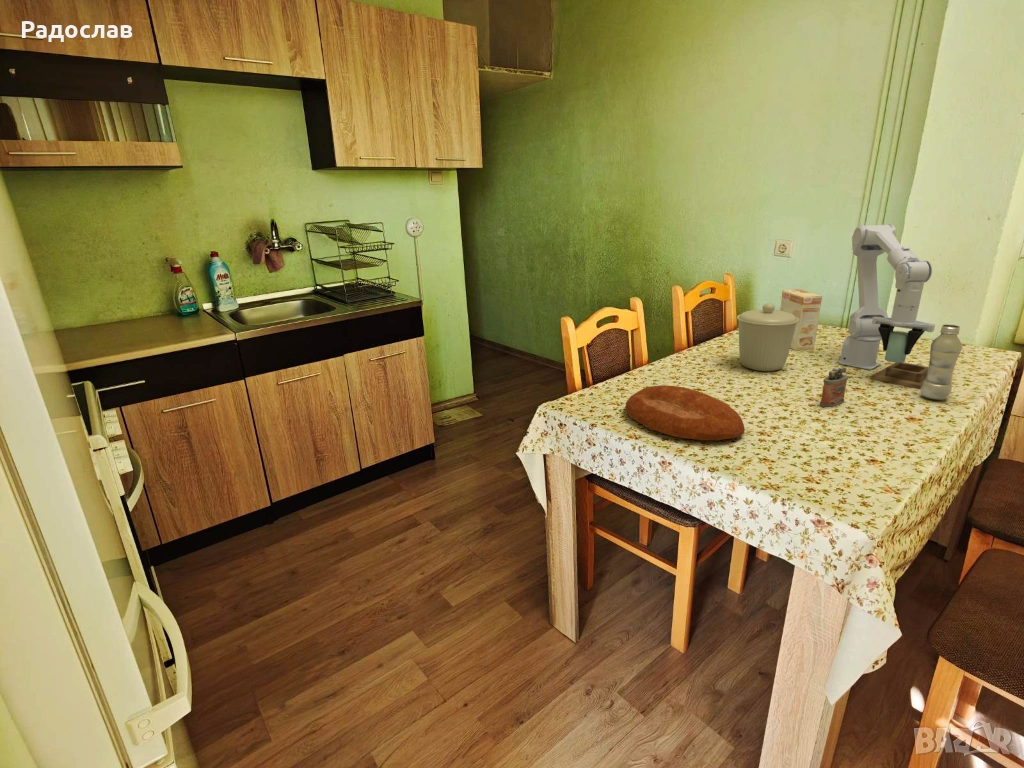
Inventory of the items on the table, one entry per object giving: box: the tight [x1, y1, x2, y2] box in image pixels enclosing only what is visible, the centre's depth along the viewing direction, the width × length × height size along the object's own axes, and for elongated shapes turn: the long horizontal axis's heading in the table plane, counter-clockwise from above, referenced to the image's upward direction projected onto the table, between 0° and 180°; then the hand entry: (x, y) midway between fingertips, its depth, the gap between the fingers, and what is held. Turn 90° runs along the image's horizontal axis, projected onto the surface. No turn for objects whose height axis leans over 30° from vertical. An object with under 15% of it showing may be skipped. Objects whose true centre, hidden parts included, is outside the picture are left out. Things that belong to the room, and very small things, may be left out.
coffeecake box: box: [779, 288, 823, 351], centre depth 191 cm, size 15×7×20 cm, turn 179°
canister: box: [736, 302, 799, 372], centre depth 169 cm, size 18×18×21 cm
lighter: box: [819, 366, 849, 408], centre depth 139 cm, size 8×3×10 cm, turn 117°
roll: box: [884, 330, 908, 363], centre depth 150 cm, size 5×5×8 cm
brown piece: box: [870, 362, 929, 390], centre depth 155 cm, size 14×14×4 cm
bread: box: [625, 384, 746, 441], centre depth 133 cm, size 23×32×9 cm
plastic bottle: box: [920, 324, 963, 401], centre depth 138 cm, size 6×7×20 cm
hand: (896, 352), depth 150 cm, fingers closed on roll, 5 cm apart
